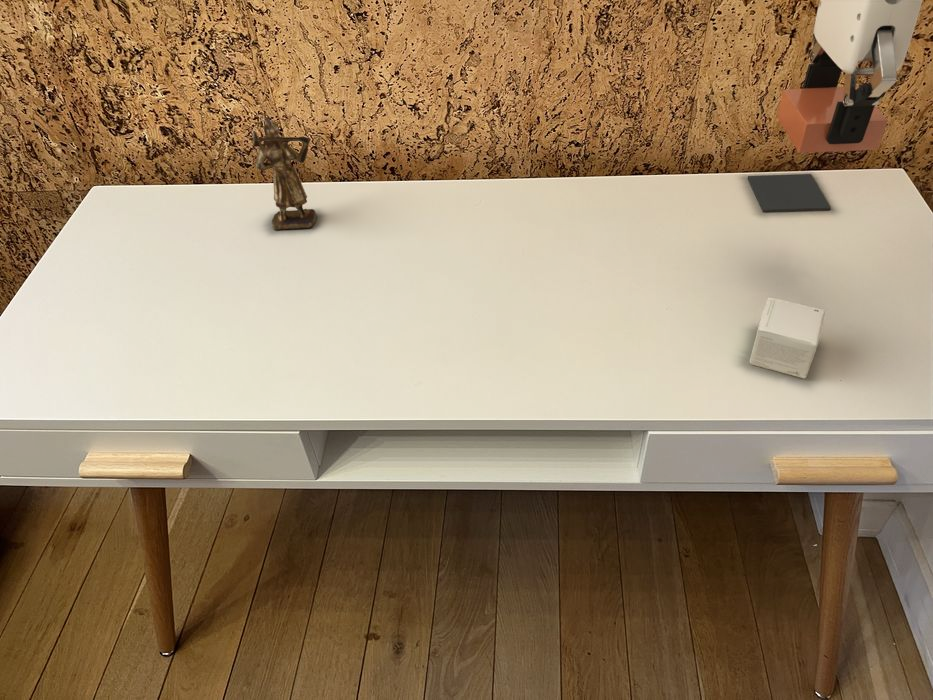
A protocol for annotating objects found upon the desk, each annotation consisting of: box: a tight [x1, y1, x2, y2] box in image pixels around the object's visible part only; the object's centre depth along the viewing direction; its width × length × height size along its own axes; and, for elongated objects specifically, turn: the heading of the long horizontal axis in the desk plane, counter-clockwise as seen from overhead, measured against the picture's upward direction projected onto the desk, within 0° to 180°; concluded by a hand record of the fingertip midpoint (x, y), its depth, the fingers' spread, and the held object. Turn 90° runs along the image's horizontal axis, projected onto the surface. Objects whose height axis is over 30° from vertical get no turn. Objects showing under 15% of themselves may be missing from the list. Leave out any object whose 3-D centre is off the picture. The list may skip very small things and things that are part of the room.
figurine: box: [247, 116, 318, 231], centre depth 94 cm, size 7×4×15 cm, turn 89°
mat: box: [747, 173, 832, 213], centre depth 97 cm, size 8×8×1 cm
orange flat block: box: [776, 85, 889, 154], centre depth 72 cm, size 7×7×3 cm
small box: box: [749, 297, 826, 380], centre depth 74 cm, size 6×6×5 cm
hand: (829, 120), depth 72 cm, fingers closed on orange flat block, 7 cm apart
